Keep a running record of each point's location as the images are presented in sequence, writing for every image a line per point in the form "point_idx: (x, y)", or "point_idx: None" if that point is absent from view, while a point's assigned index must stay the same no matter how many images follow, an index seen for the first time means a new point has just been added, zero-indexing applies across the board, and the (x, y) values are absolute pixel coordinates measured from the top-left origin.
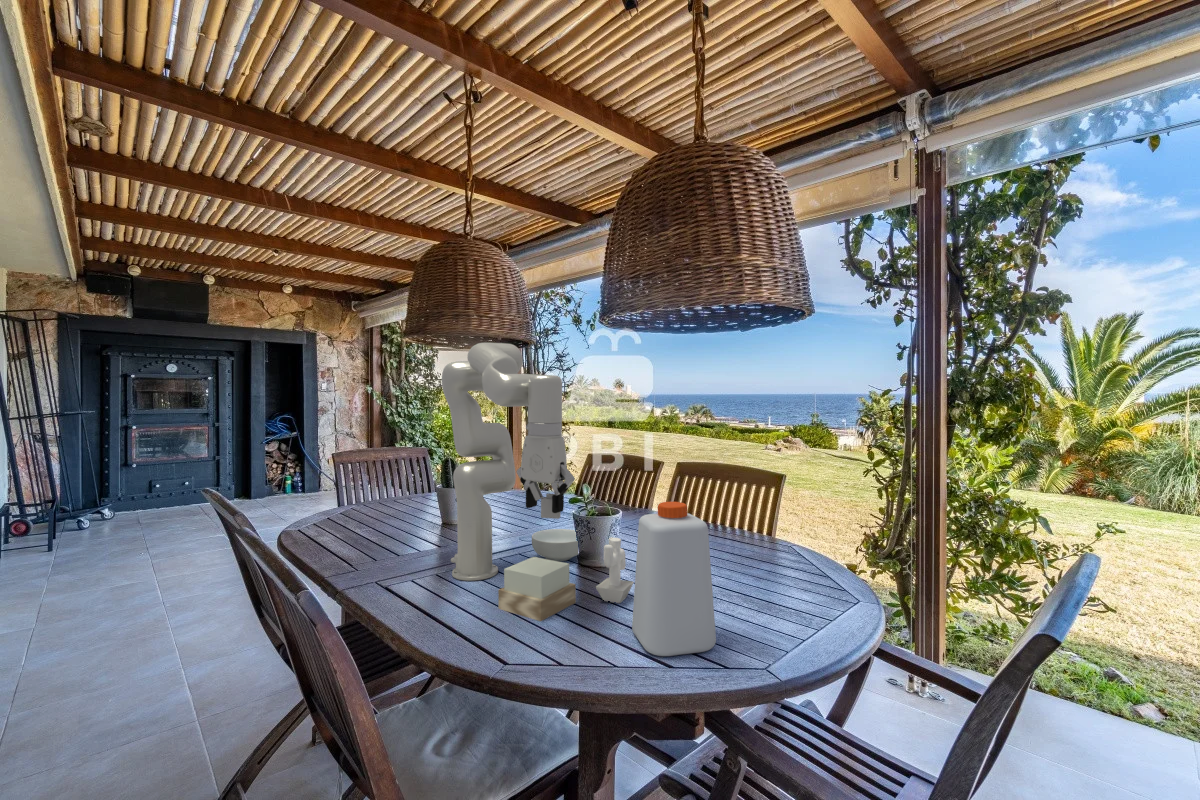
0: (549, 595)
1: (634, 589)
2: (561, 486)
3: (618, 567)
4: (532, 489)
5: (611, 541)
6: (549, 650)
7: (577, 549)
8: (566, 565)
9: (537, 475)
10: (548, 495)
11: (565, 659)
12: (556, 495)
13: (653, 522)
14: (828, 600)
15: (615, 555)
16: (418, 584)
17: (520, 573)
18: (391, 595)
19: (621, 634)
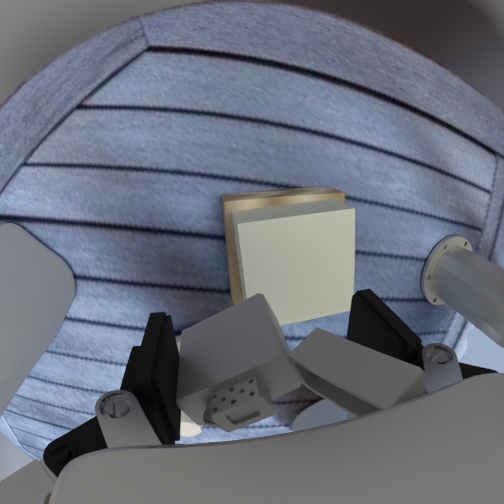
0: (232, 237)
1: (34, 296)
2: (81, 454)
3: None
4: (369, 363)
5: (185, 420)
6: (123, 123)
7: (349, 413)
8: None
9: (332, 489)
10: (242, 397)
11: (83, 121)
12: (139, 398)
13: None
14: (33, 442)
15: None
16: (478, 186)
17: (304, 213)
18: (476, 135)
19: (78, 248)
